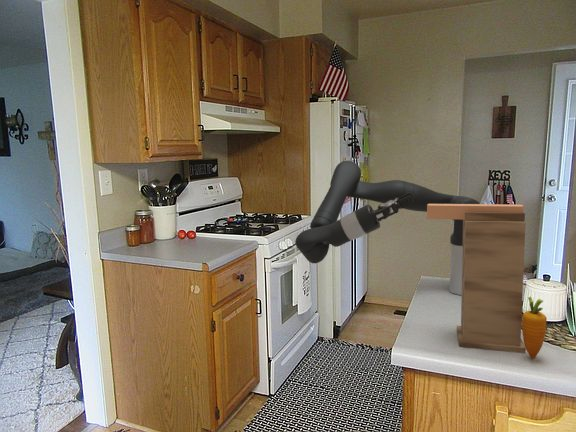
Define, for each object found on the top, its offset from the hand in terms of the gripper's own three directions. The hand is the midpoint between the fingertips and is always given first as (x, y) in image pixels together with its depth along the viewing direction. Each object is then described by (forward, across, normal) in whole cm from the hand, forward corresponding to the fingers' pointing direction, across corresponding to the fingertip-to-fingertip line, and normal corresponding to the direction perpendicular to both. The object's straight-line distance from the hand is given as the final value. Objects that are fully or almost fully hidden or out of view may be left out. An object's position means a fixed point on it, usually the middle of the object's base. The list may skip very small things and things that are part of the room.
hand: (412, 197), depth 119 cm
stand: (+1, -8, +42) cm, 42 cm away
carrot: (+8, -16, +45) cm, 49 cm away
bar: (+11, -7, +11) cm, 17 cm away
